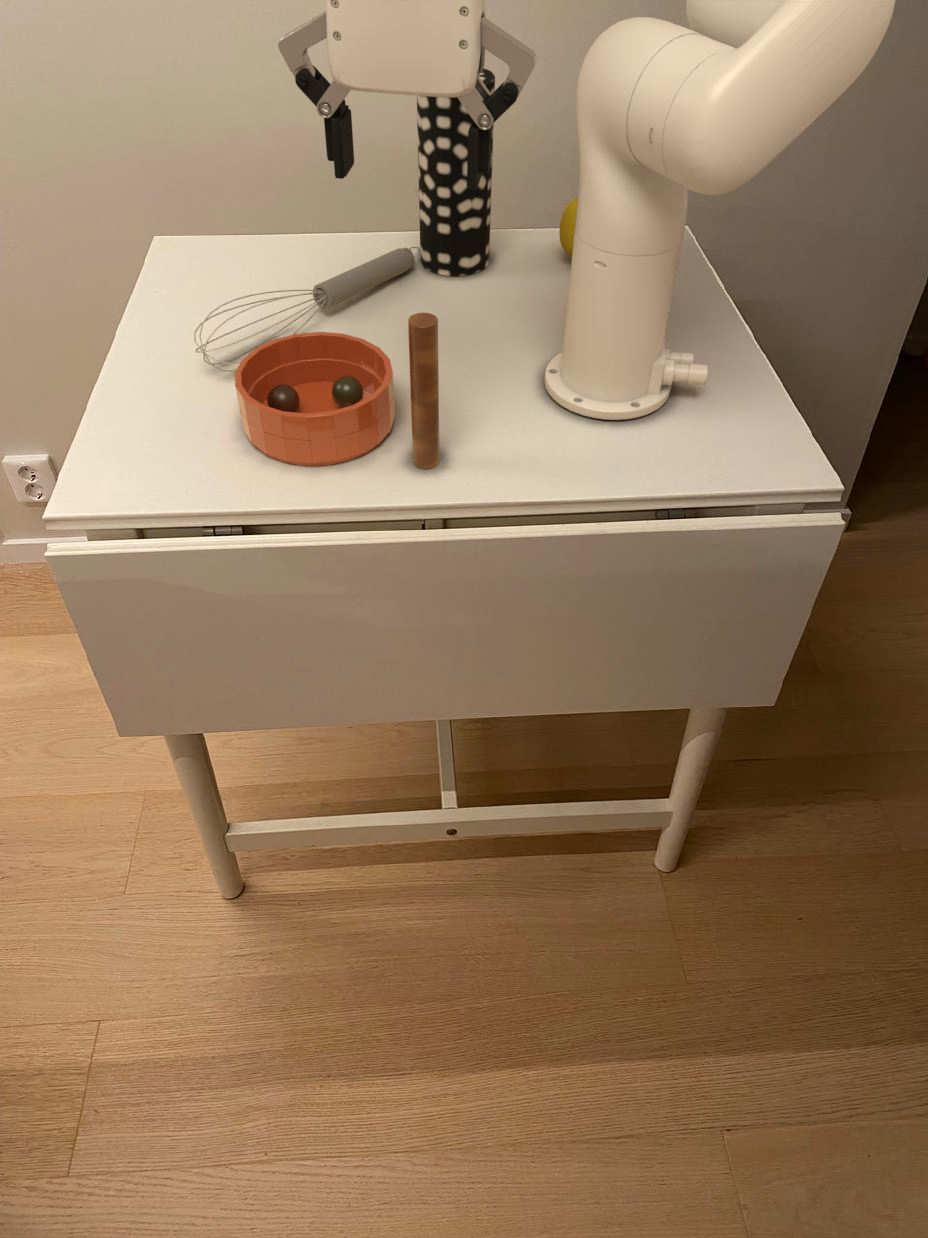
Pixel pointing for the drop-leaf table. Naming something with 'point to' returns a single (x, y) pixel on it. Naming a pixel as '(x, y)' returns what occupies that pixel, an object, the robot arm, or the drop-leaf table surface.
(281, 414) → the bowl
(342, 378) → the bead
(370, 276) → the kitchen whisk
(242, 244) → the drop-leaf table surface
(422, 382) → the stirring stick
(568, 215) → the lemon
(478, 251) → the white-spotted black cylinder
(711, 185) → the robot arm
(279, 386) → the bead
